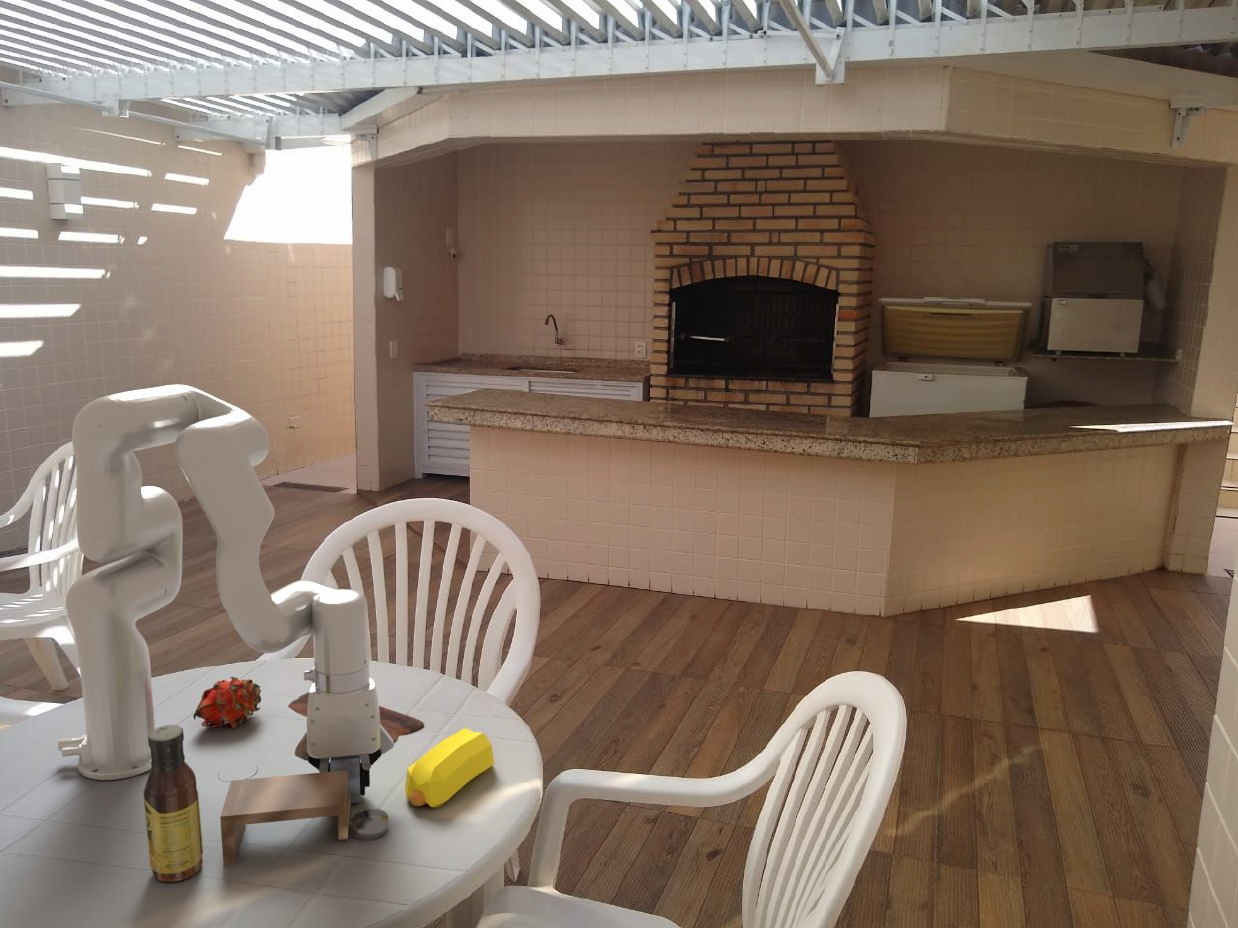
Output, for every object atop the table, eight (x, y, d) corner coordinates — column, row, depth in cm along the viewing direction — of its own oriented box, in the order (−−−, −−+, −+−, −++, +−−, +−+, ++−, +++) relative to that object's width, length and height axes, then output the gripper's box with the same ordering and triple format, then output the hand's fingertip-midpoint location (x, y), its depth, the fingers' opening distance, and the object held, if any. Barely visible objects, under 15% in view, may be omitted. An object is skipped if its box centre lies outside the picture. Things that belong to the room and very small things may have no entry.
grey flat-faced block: (327, 840, 131) (326, 793, 130) (333, 790, 144) (331, 747, 142) (358, 837, 132) (356, 791, 131) (361, 787, 145) (359, 744, 143)
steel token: (349, 843, 132) (349, 830, 132) (353, 822, 137) (352, 810, 137) (387, 840, 133) (386, 827, 133) (389, 820, 138) (389, 807, 137)
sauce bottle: (162, 856, 128) (150, 717, 124) (210, 855, 129) (201, 717, 124) (142, 887, 122) (129, 742, 118) (193, 886, 122) (183, 741, 118)
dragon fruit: (269, 720, 169) (202, 753, 161) (246, 683, 172) (179, 713, 164) (276, 695, 164) (207, 728, 156) (251, 657, 167) (182, 687, 159)
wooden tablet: (277, 701, 171) (321, 675, 179) (279, 712, 172) (323, 686, 180) (384, 744, 157) (427, 714, 165) (386, 756, 158) (428, 726, 166)
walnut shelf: (223, 864, 127) (220, 816, 125) (234, 826, 135) (231, 780, 134) (346, 851, 130) (344, 804, 129) (349, 814, 139) (347, 770, 137)
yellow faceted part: (504, 764, 154) (465, 752, 157) (504, 725, 153) (464, 714, 156) (434, 819, 138) (392, 805, 142) (434, 777, 137) (391, 763, 140)
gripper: (277, 691, 133) (284, 812, 137) (402, 683, 137) (405, 800, 140) (283, 669, 140) (289, 784, 144) (401, 661, 144) (404, 773, 148)
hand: (346, 791), depth 142 cm, fingers closed on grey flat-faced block, 4 cm apart
